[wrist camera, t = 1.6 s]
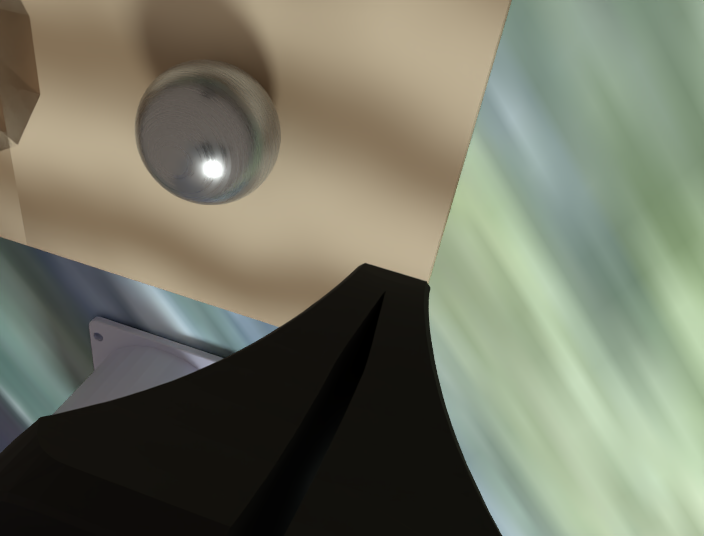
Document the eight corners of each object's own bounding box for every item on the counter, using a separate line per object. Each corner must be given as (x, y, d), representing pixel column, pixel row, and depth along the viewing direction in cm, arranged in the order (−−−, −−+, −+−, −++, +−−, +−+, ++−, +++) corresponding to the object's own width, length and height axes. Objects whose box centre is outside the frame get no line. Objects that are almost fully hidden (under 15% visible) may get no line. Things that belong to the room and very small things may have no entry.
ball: (293, 186, 19) (240, 247, 16) (181, 154, 20) (108, 206, 17) (308, 63, 17) (250, 104, 14) (181, 31, 18) (97, 63, 15)
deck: (415, 326, 24) (402, 366, 22) (-125, 157, 28) (-179, 179, 26) (556, -153, 15) (556, -158, 13) (-274, -310, 19) (-375, -334, 17)
